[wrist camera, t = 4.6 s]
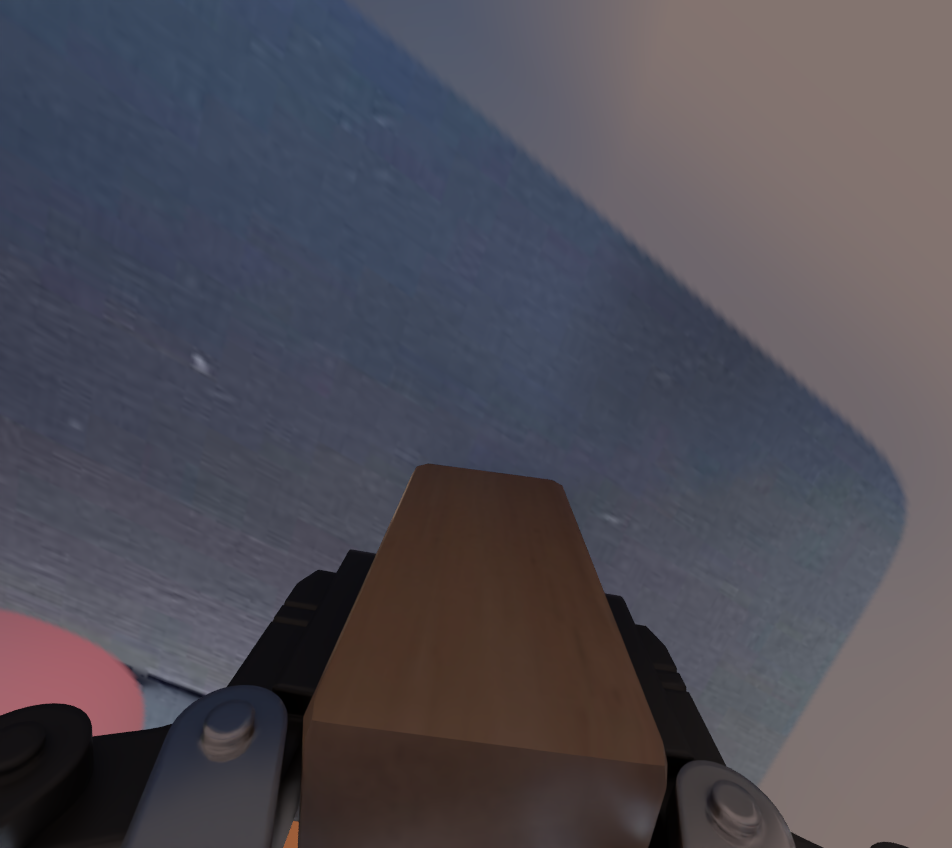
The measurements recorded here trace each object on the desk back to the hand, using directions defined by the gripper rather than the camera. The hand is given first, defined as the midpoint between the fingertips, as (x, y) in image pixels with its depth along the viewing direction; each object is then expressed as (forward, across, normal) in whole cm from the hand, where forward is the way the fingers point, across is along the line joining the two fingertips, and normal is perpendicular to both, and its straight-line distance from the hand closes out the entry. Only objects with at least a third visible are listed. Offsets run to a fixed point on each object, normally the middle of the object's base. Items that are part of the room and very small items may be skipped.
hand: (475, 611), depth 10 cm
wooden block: (+3, 0, 0) cm, 3 cm away
